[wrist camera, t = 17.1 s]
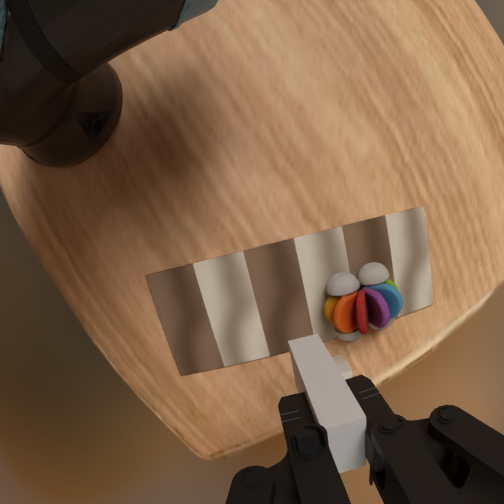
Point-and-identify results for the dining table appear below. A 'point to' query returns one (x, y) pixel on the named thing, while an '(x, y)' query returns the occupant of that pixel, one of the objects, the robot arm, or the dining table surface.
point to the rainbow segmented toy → (362, 301)
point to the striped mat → (282, 289)
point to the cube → (343, 366)
